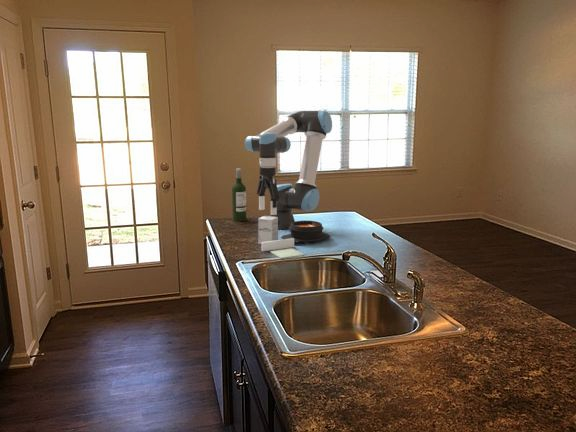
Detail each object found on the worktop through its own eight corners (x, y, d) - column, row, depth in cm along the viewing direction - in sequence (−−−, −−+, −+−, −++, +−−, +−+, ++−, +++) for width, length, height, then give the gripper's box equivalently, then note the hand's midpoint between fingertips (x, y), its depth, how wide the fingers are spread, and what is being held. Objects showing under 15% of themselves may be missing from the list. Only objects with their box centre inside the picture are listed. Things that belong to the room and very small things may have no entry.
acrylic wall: (293, 246, 224) (293, 238, 223) (294, 247, 223) (294, 238, 222) (261, 250, 217) (261, 242, 216) (262, 251, 216) (262, 242, 215)
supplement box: (257, 244, 228) (257, 218, 225) (264, 240, 235) (264, 215, 232) (272, 246, 225) (272, 219, 222) (278, 242, 232) (278, 216, 229)
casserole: (319, 233, 249) (320, 217, 247) (337, 242, 232) (338, 225, 230) (275, 238, 239) (275, 222, 237) (290, 247, 222) (290, 230, 220)
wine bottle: (239, 222, 274) (238, 169, 268) (229, 220, 279) (228, 168, 273) (249, 219, 280) (248, 168, 274) (239, 218, 285) (238, 167, 279)
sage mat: (292, 249, 220) (292, 248, 219) (303, 255, 210) (303, 254, 210) (270, 252, 215) (270, 251, 215) (280, 258, 205) (280, 257, 205)
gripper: (249, 164, 232) (250, 208, 236) (271, 169, 210) (271, 217, 214) (264, 164, 235) (264, 207, 239) (286, 169, 213) (286, 216, 217)
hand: (267, 212), depth 226 cm, fingers open, 13 cm apart
